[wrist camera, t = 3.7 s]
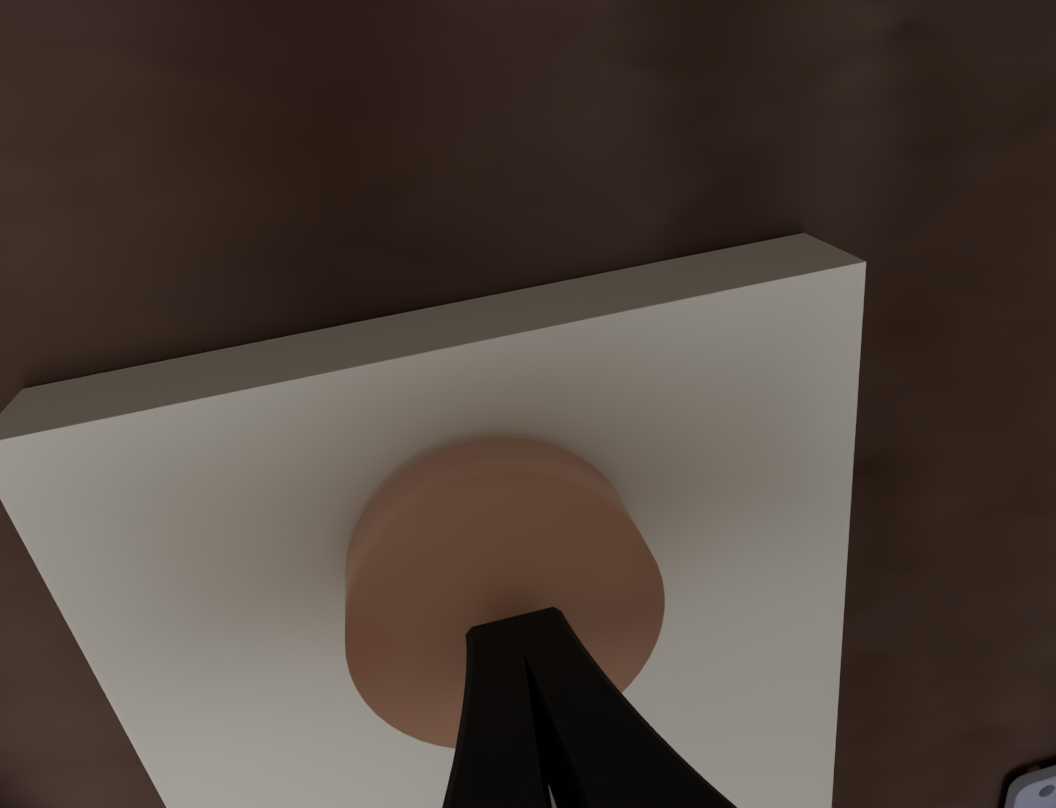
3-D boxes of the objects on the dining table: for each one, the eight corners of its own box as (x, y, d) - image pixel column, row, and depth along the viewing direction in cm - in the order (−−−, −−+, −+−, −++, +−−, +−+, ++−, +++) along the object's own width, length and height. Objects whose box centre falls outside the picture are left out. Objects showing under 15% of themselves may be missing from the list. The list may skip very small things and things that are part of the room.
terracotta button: (619, 408, 13) (655, 460, 11) (641, 637, 15) (672, 704, 14) (310, 477, 12) (305, 540, 11) (382, 704, 15) (385, 782, 13)
